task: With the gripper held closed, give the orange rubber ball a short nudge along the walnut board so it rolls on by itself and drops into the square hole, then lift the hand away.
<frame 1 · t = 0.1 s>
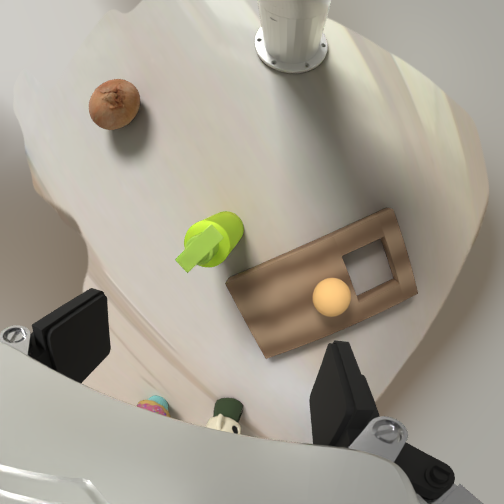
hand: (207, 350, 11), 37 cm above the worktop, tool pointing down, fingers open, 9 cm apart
character mug: (229, 404, 56), on the worktop
cupcake: (159, 402, 59), on the worktop
soap dispenser: (228, 226, 47), on the worktop
board: (326, 284, 48), on the worktop
ball: (331, 297, 42), point 6 cm above the worktop, touching board
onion: (126, 109, 44), on the worktop
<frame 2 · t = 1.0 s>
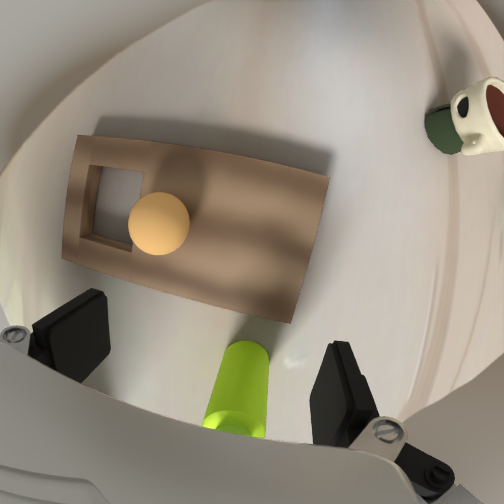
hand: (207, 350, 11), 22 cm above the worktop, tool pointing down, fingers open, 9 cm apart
character mug: (441, 131, 27), on the worktop
soap dispenser: (242, 358, 35), on the worktop
board: (178, 218, 32), on the worktop
ball: (158, 223, 26), point 6 cm above the worktop, touching board
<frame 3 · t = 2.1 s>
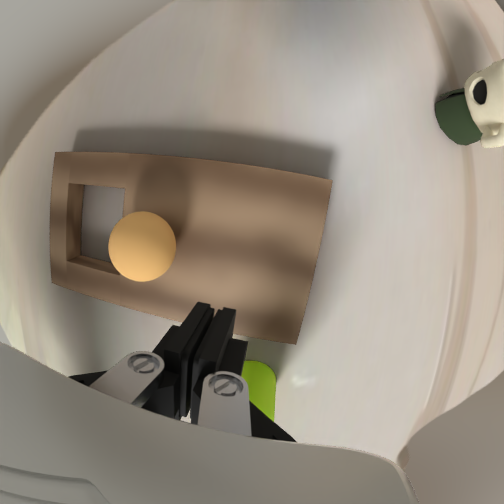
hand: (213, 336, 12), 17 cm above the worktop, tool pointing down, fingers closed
character mug: (453, 119, 23), on the worktop
soap dispenser: (247, 378, 32), on the worktop
board: (167, 234, 29), on the worktop
ball: (142, 246, 23), point 6 cm above the worktop, touching board
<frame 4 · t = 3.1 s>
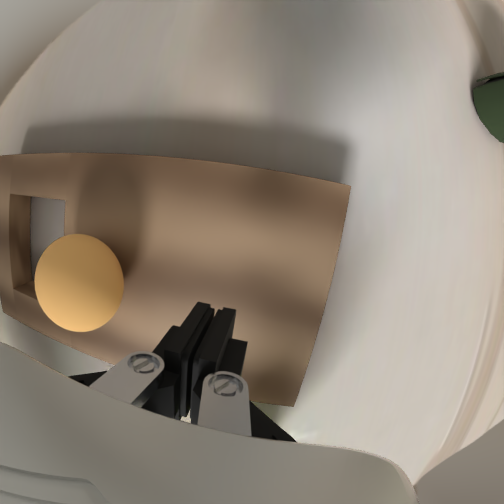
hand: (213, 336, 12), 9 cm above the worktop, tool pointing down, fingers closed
character mug: (491, 111, 15), on the worktop
board: (123, 260, 21), on the worktop
ball: (78, 283, 15), point 6 cm above the worktop, touching board
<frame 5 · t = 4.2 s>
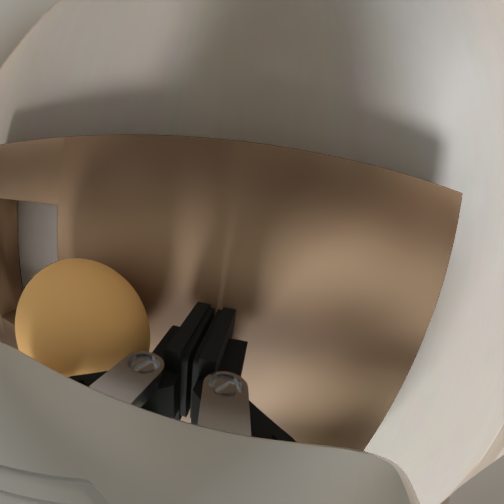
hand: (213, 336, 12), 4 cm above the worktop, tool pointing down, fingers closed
board: (142, 285, 15), on the worktop
ball: (81, 331, 10), point 6 cm above the worktop, touching board, gripper
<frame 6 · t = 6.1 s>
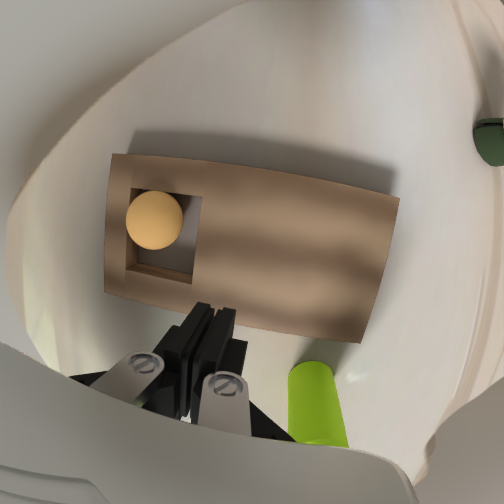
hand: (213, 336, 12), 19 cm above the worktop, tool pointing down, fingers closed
character mug: (486, 143, 24), on the worktop
soap dispenser: (306, 378, 34), on the worktop
board: (240, 243, 30), on the worktop
ball: (154, 220, 28), point 3 cm above the worktop, tilted 78°
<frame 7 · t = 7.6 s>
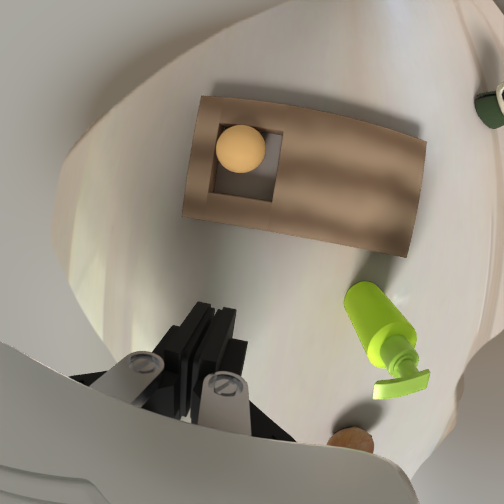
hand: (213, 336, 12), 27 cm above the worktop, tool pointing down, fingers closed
character mug: (485, 111, 29), on the worktop
soap dispenser: (359, 300, 39), on the worktop
board: (308, 173, 35), on the worktop
ball: (240, 148, 33), point 3 cm above the worktop, tilted 79°
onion: (346, 433, 45), on the worktop
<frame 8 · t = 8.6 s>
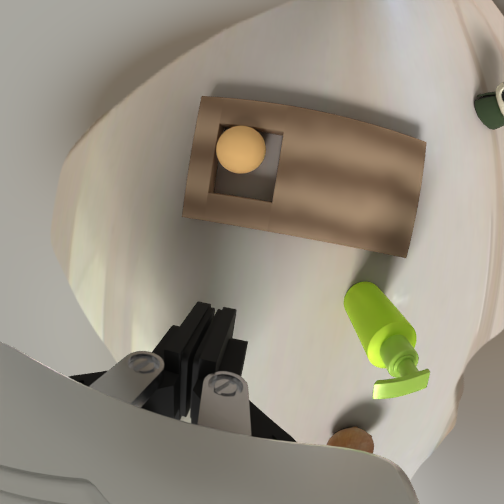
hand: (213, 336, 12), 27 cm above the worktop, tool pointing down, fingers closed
character mug: (484, 112, 30), on the worktop
soap dispenser: (359, 300, 39), on the worktop
board: (308, 173, 36), on the worktop
ball: (240, 149, 33), point 3 cm above the worktop, tilted 80°
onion: (346, 433, 45), on the worktop
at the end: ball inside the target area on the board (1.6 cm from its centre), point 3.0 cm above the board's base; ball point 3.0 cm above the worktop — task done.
